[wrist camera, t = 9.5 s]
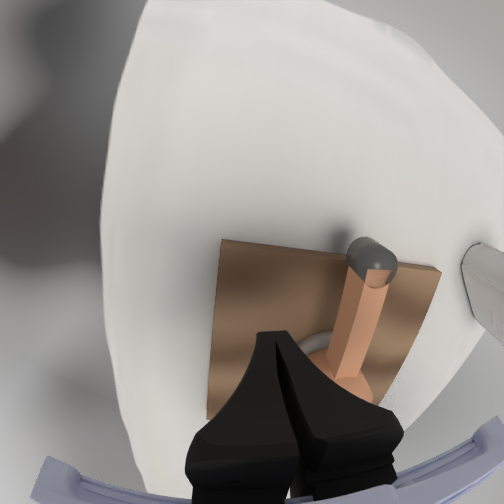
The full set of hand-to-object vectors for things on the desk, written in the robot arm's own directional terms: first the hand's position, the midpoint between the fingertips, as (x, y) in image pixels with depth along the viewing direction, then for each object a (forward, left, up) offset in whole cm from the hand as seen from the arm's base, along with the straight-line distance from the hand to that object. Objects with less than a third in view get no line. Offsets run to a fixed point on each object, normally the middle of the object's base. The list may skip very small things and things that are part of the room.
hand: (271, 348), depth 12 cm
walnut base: (-7, -6, -8) cm, 12 cm away
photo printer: (+1, -23, -8) cm, 25 cm away
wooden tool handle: (-2, -6, -5) cm, 8 cm away
